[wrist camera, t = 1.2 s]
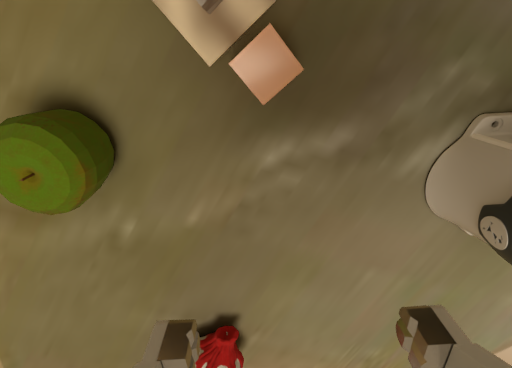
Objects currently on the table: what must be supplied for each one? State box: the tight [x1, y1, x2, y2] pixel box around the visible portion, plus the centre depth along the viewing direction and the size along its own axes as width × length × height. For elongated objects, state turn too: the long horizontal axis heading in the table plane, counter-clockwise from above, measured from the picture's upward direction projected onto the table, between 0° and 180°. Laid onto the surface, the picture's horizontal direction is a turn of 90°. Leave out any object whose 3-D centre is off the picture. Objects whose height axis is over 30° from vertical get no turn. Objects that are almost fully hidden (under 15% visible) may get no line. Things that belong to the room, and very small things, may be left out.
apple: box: [0, 109, 114, 215], centre depth 32 cm, size 11×11×11 cm
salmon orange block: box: [229, 24, 304, 105], centre depth 30 cm, size 5×5×7 cm
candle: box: [195, 326, 244, 368], centre depth 50 cm, size 9×11×15 cm
